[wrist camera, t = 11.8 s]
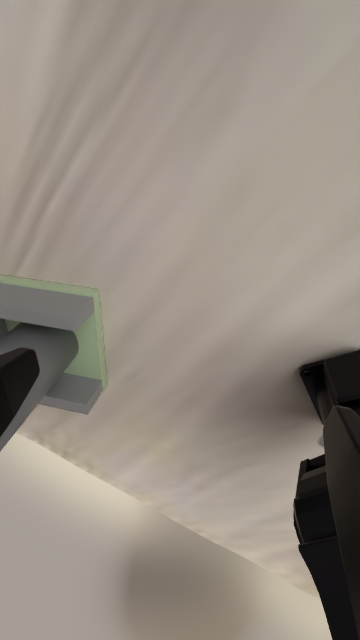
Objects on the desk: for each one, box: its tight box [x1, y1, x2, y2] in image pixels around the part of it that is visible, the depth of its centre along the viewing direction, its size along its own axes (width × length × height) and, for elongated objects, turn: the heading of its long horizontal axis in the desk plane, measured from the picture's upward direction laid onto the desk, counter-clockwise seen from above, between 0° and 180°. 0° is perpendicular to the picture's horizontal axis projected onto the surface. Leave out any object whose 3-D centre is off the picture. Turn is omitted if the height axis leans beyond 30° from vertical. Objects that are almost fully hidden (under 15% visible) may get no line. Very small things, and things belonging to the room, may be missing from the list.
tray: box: [0, 275, 107, 415], centre depth 25 cm, size 10×10×4 cm
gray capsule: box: [0, 322, 79, 451], centre depth 21 cm, size 5×5×11 cm
